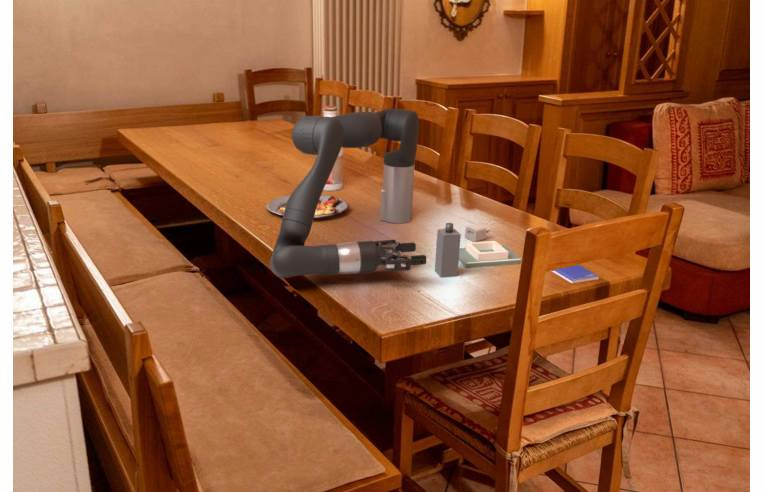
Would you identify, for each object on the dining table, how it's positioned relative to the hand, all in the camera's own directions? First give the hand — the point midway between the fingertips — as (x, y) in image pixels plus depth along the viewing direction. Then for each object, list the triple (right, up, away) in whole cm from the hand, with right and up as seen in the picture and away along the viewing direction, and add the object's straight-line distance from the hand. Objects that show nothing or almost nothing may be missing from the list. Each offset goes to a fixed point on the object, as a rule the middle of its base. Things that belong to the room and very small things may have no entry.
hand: (420, 253), depth 167 cm
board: (+18, -1, +15) cm, 23 cm away
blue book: (+38, -6, +8) cm, 40 cm away
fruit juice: (-28, +22, +73) cm, 81 cm away
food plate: (-32, +12, +48) cm, 59 cm away
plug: (+7, -5, +4) cm, 9 cm away
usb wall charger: (+18, +4, +29) cm, 34 cm away
